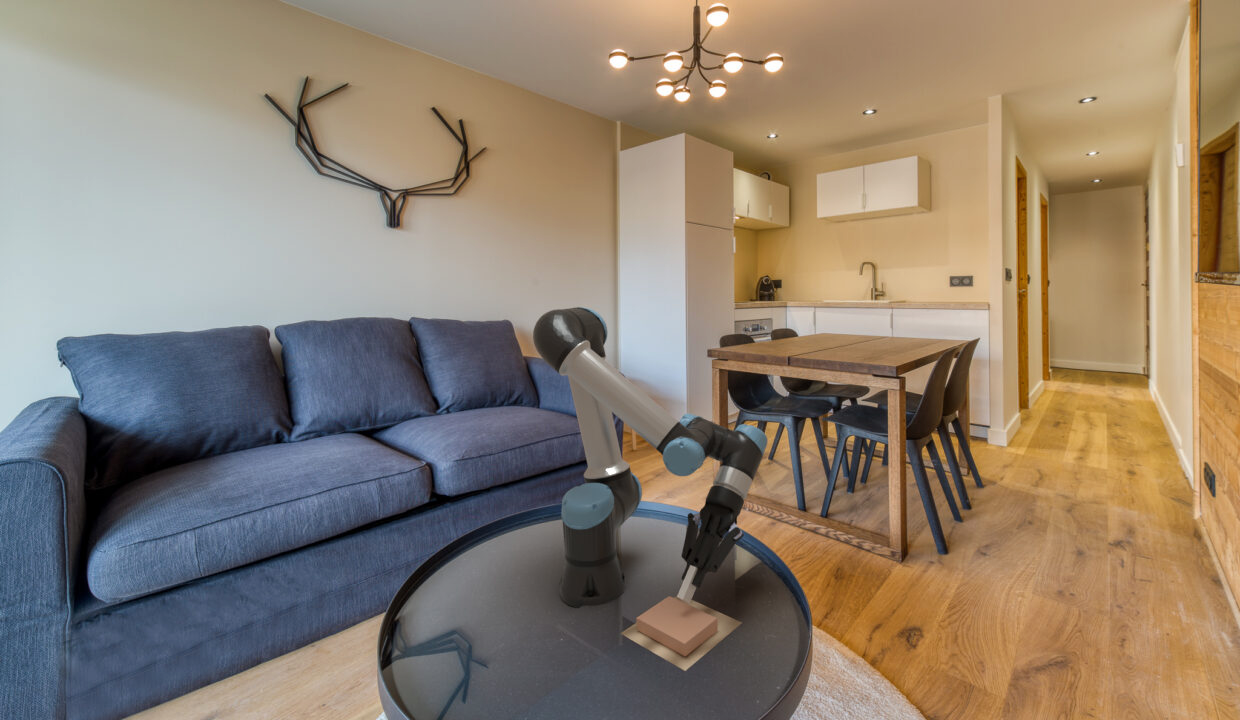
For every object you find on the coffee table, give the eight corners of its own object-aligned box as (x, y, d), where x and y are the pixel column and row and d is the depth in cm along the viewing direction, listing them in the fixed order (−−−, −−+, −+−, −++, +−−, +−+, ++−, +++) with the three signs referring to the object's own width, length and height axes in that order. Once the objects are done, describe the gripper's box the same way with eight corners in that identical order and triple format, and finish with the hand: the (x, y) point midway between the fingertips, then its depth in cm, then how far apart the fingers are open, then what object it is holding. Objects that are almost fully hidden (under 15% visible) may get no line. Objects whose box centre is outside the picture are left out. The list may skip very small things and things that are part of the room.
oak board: (620, 637, 105) (620, 633, 104) (679, 597, 117) (678, 594, 117) (685, 675, 93) (685, 670, 93) (742, 626, 106) (742, 622, 106)
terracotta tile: (670, 608, 112) (637, 631, 105) (669, 595, 111) (636, 617, 104) (717, 631, 103) (685, 658, 96) (717, 618, 103) (684, 643, 96)
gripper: (762, 507, 112) (719, 619, 102) (710, 494, 121) (666, 595, 111) (748, 491, 107) (701, 606, 98) (695, 478, 116) (648, 582, 107)
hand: (683, 600), depth 104 cm, fingers closed
